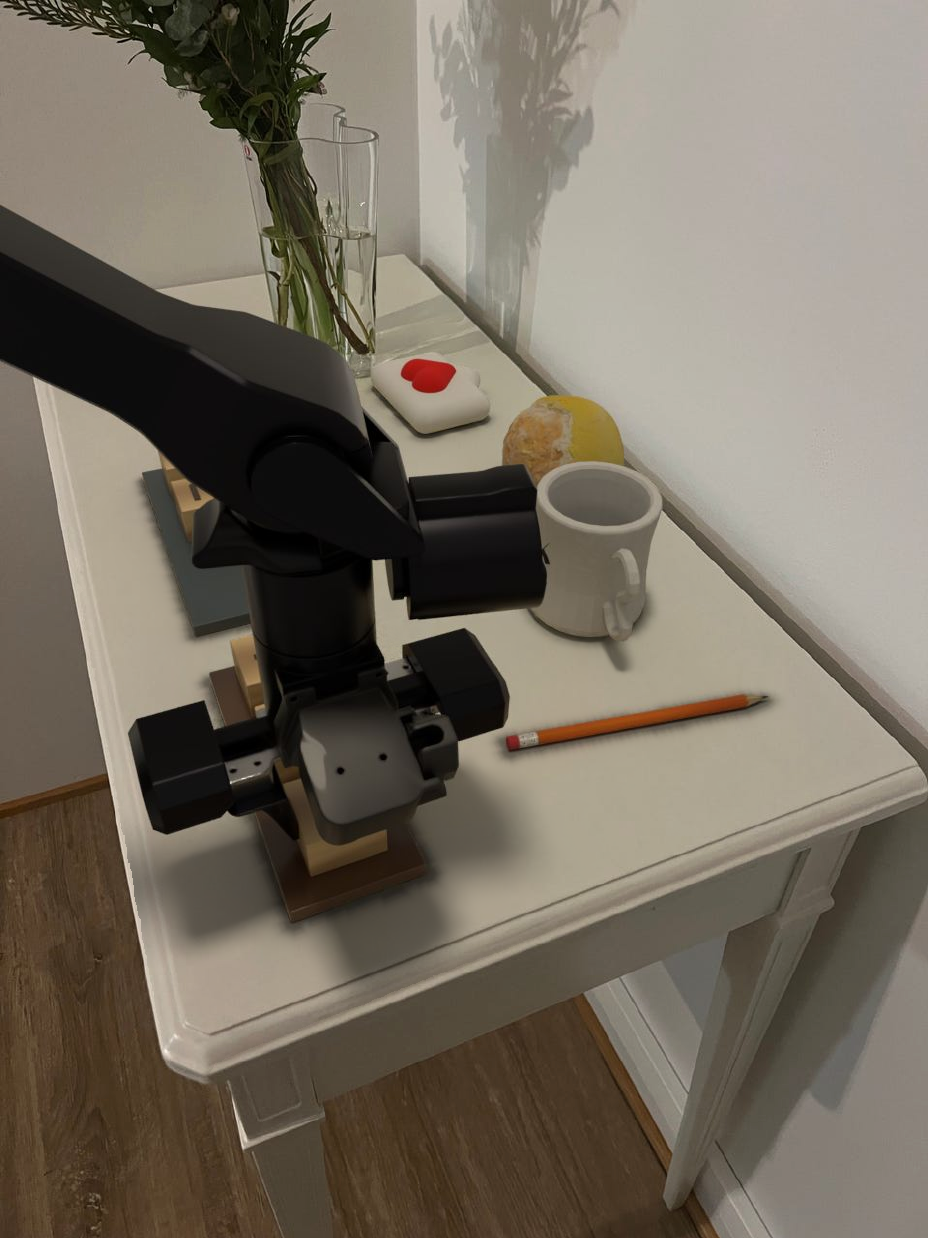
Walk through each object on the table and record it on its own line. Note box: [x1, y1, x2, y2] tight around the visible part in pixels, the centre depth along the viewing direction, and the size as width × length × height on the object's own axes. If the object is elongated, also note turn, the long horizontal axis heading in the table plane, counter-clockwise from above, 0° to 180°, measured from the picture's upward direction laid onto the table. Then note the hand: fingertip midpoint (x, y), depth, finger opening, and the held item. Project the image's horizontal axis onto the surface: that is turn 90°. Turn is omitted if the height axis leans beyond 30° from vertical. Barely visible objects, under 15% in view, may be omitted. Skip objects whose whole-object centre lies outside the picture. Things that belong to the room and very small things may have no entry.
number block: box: [284, 779, 388, 877], centre depth 53 cm, size 5×5×3 cm
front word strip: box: [208, 634, 427, 923], centre depth 58 cm, size 20×8×4 cm, turn 24°
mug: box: [530, 461, 663, 643], centre depth 68 cm, size 12×9×10 cm
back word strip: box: [141, 450, 251, 637], centre depth 76 cm, size 22×8×4 cm, turn 24°
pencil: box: [505, 694, 770, 750], centre depth 63 cm, size 1×19×1 cm, turn 104°
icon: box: [370, 351, 491, 435], centre depth 94 cm, size 12×4×10 cm
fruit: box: [501, 394, 625, 488], centre depth 78 cm, size 10×11×10 cm
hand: (335, 820), depth 54 cm, fingers closed on number block, 4 cm apart
